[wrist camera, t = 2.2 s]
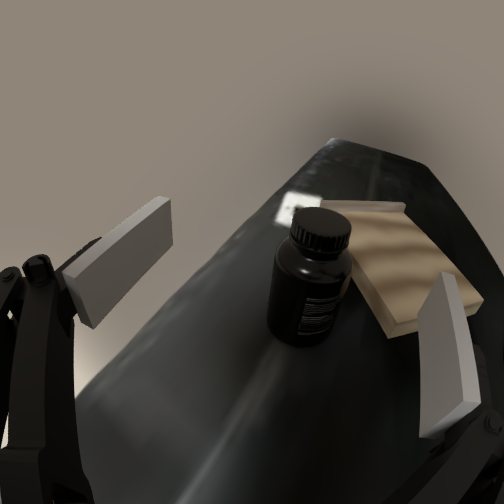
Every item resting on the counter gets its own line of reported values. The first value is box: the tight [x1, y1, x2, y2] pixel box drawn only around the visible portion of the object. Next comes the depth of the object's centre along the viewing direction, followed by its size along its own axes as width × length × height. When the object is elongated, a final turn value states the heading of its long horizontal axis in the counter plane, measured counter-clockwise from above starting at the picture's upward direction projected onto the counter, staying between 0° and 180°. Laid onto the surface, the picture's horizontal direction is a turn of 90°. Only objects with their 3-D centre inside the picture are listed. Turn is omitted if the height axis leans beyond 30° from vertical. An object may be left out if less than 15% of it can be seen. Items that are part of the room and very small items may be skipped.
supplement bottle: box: [267, 207, 353, 347], centre depth 27 cm, size 7×7×12 cm
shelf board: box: [320, 200, 484, 338], centre depth 38 cm, size 23×16×4 cm
